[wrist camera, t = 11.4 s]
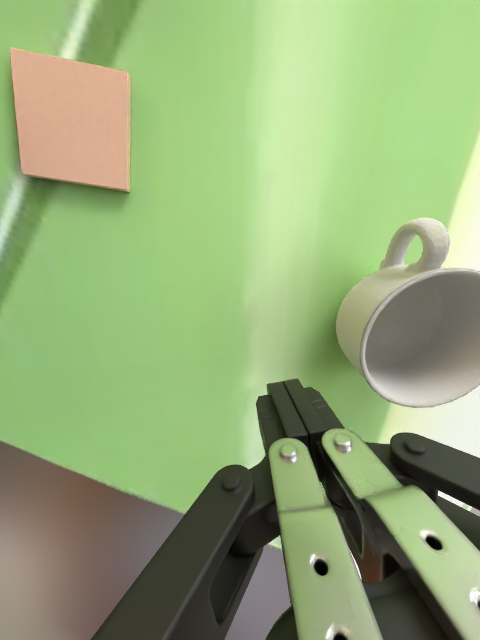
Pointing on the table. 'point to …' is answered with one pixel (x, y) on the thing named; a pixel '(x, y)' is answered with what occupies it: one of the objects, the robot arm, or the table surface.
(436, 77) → the table surface
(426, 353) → the teacup
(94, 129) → the sticky note pad
